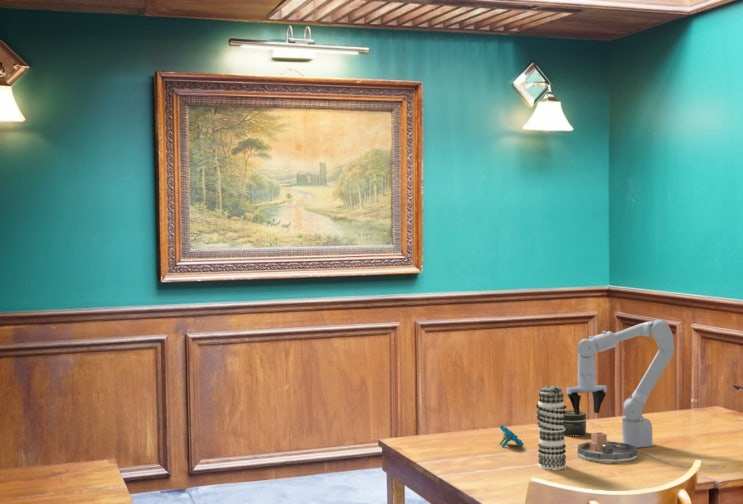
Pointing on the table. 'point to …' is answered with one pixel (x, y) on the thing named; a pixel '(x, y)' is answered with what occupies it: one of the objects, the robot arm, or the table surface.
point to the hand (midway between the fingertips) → (586, 413)
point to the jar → (575, 423)
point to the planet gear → (598, 441)
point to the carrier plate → (616, 451)
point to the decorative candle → (551, 428)
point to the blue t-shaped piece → (509, 437)
